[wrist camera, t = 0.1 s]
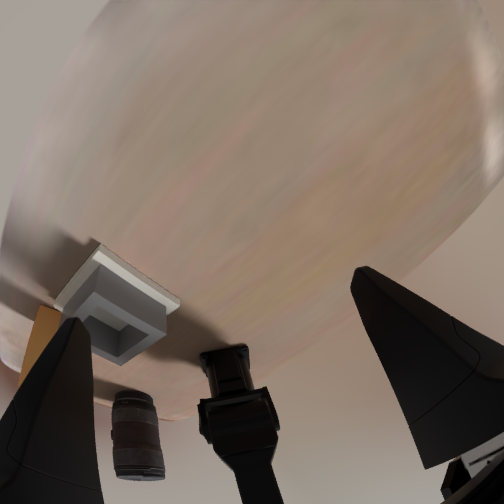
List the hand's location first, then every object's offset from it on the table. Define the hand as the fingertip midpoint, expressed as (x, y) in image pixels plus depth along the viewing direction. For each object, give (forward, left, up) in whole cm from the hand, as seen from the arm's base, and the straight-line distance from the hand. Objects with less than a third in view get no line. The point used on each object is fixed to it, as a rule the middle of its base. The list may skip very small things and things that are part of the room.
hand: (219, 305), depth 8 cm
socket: (-13, +10, -15) cm, 22 cm away
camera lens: (-37, +17, -15) cm, 43 cm away
